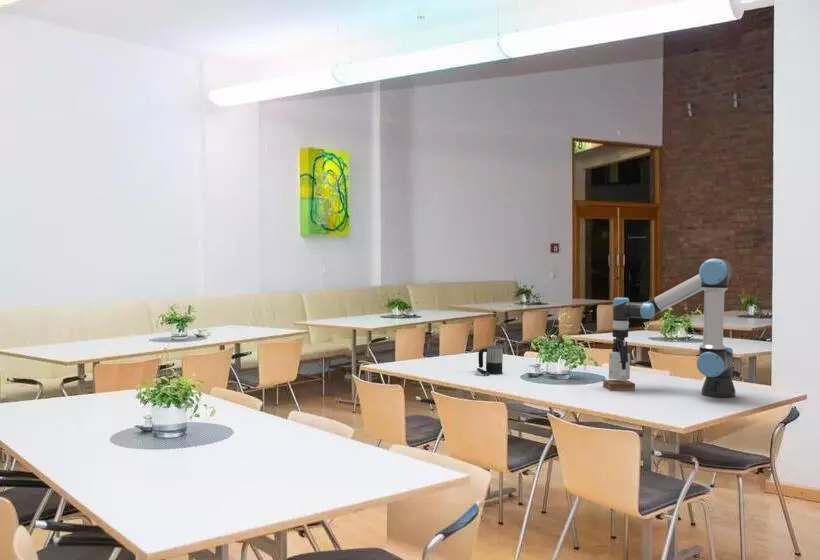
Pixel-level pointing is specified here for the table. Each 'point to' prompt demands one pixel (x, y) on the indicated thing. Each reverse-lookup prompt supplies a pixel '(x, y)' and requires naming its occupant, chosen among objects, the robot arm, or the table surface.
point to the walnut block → (619, 385)
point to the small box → (617, 366)
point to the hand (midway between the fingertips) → (619, 374)
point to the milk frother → (491, 360)
